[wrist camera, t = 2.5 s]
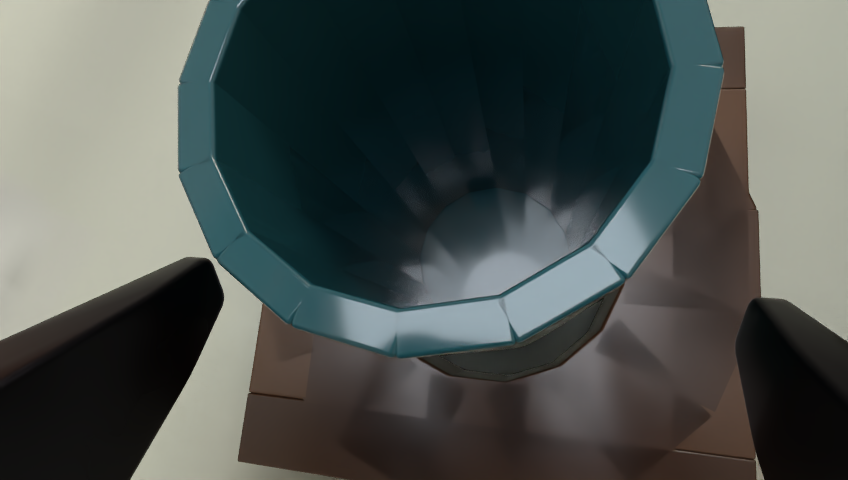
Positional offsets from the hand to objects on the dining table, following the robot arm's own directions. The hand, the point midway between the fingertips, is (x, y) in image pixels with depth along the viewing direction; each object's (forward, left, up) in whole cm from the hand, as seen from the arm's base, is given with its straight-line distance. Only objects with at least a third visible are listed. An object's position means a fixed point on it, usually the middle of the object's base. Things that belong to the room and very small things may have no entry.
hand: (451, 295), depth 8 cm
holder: (+2, 0, -9) cm, 10 cm away
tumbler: (+2, 0, -9) cm, 10 cm away
